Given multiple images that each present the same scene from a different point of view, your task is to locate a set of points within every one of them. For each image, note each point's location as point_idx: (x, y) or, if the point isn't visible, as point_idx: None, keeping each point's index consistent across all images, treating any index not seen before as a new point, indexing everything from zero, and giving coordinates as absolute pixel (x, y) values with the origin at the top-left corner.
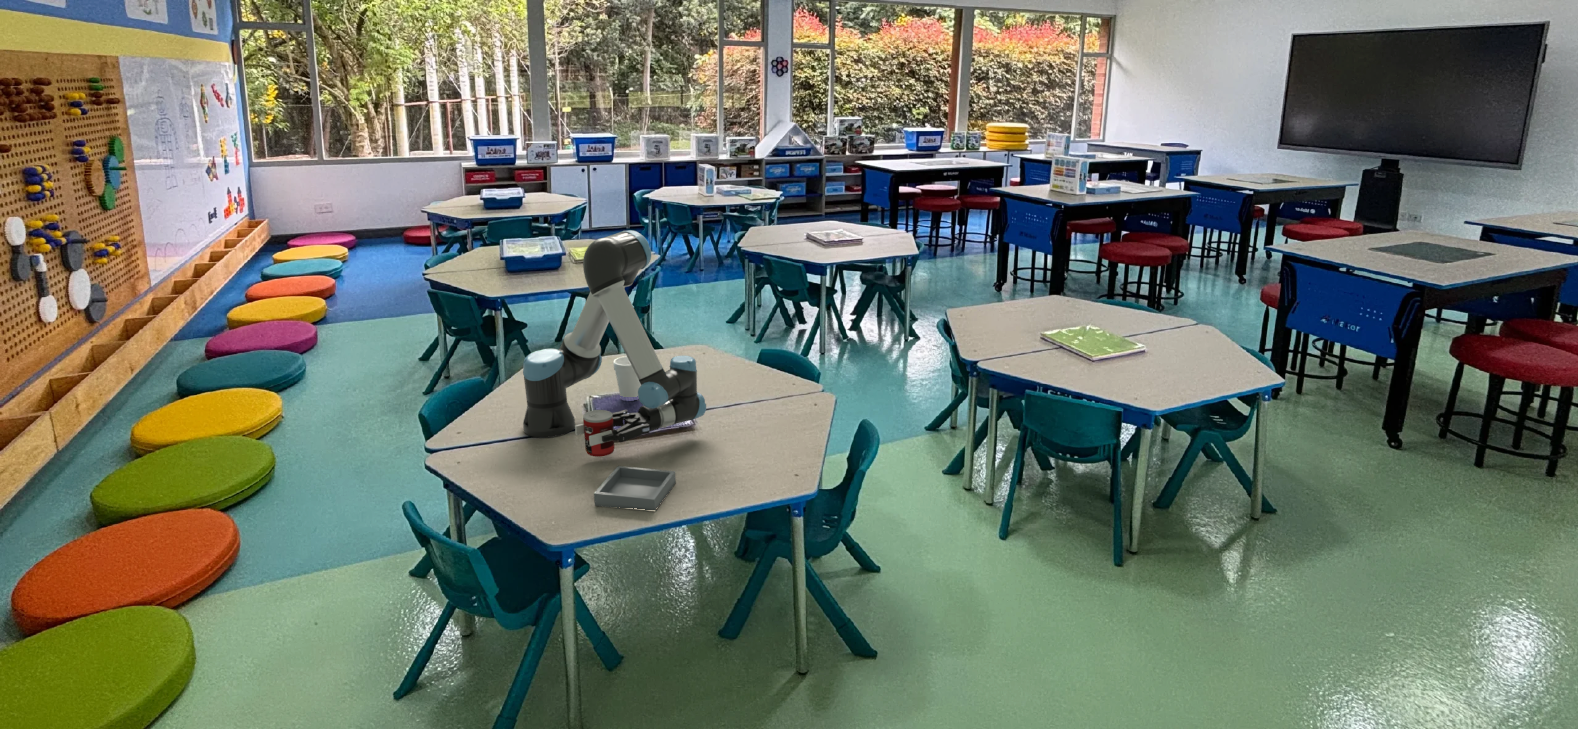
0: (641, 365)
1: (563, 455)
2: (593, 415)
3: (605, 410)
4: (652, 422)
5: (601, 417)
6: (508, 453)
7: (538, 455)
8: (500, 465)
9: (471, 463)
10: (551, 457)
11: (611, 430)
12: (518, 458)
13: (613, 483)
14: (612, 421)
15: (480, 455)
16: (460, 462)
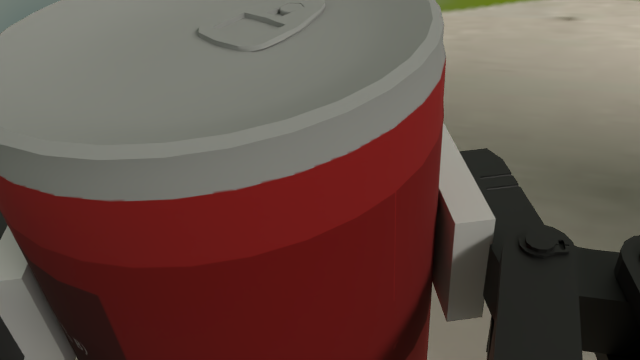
0: None
1: None
2: (264, 13)
3: (329, 105)
4: None
5: (128, 63)
6: (621, 104)
7: (558, 177)
8: (490, 78)
9: (546, 34)
10: None
11: (52, 310)
12: (546, 120)
13: None
14: (32, 241)
15: (621, 51)
16: (567, 20)
